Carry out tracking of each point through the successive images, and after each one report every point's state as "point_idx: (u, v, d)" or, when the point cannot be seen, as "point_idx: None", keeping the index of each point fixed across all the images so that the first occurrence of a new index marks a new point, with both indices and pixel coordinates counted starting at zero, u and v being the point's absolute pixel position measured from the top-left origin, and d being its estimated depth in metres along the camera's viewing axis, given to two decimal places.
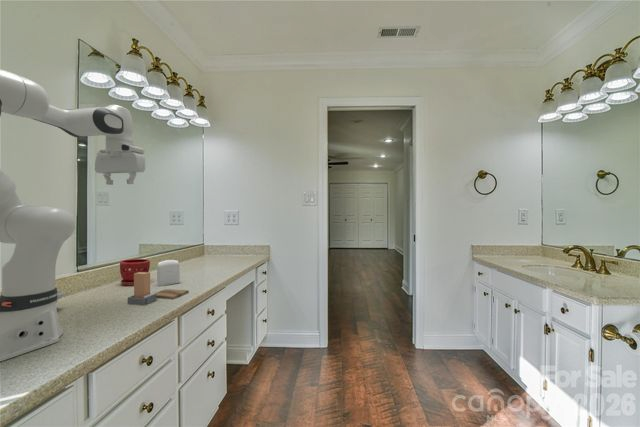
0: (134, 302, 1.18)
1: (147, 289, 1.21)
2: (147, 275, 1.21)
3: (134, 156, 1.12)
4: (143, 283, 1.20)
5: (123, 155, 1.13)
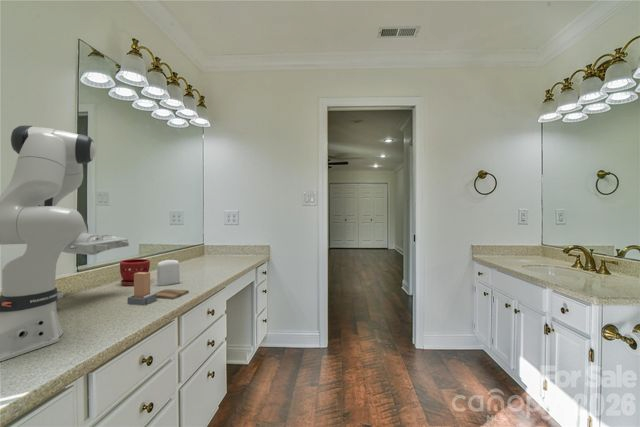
0: (134, 302, 1.18)
1: (147, 289, 1.21)
2: (147, 275, 1.21)
3: None
4: (143, 283, 1.20)
5: (105, 238, 1.30)
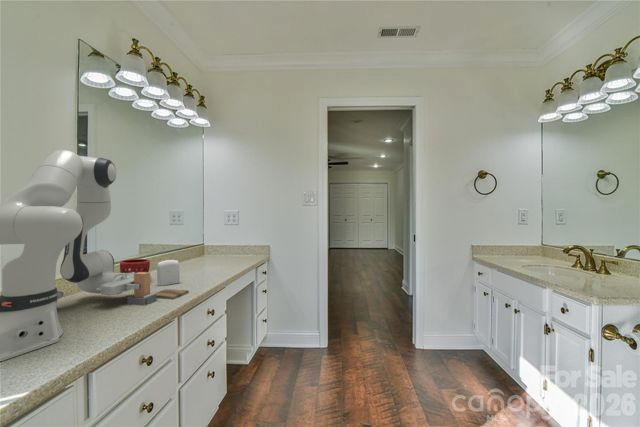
0: (134, 302, 1.18)
1: (147, 289, 1.21)
2: (146, 275, 1.21)
3: None
4: (143, 283, 1.20)
5: (129, 276, 1.27)
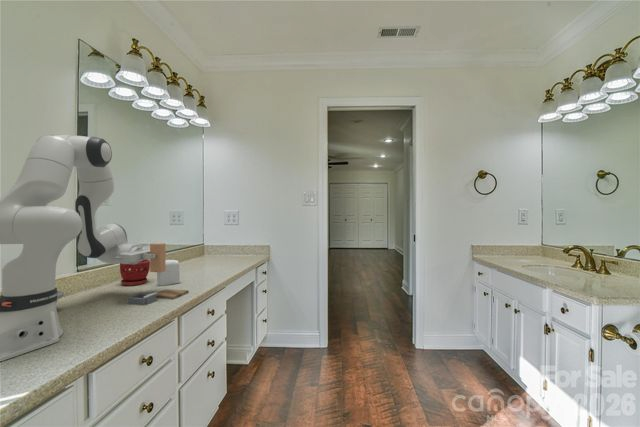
0: (134, 302, 1.18)
1: (162, 259, 1.27)
2: (162, 246, 1.27)
3: None
4: (159, 253, 1.26)
5: (145, 248, 1.33)
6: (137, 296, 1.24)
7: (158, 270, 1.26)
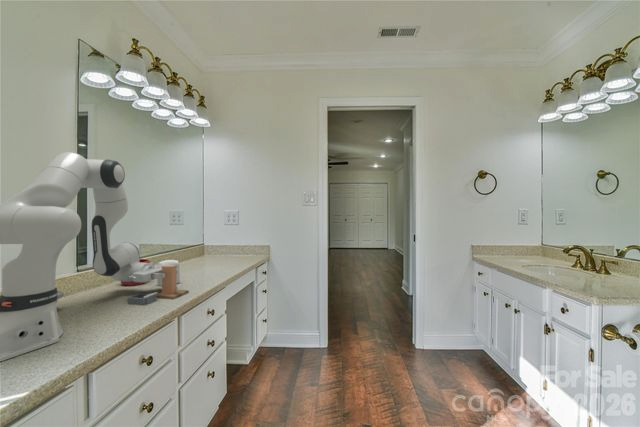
0: (134, 302, 1.18)
1: (174, 281, 1.31)
2: (173, 268, 1.31)
3: (165, 264, 1.42)
4: (170, 275, 1.30)
5: (156, 266, 1.37)
6: (137, 296, 1.24)
7: (169, 292, 1.30)
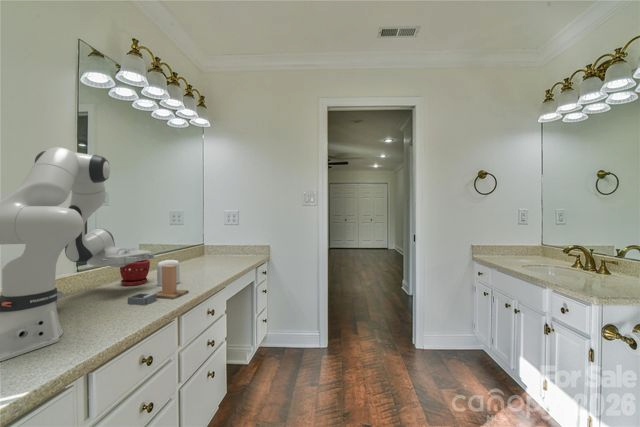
0: (134, 302, 1.18)
1: (174, 281, 1.31)
2: (173, 268, 1.31)
3: (141, 250, 1.44)
4: (170, 275, 1.30)
5: (132, 251, 1.39)
6: (137, 296, 1.24)
7: (169, 292, 1.30)
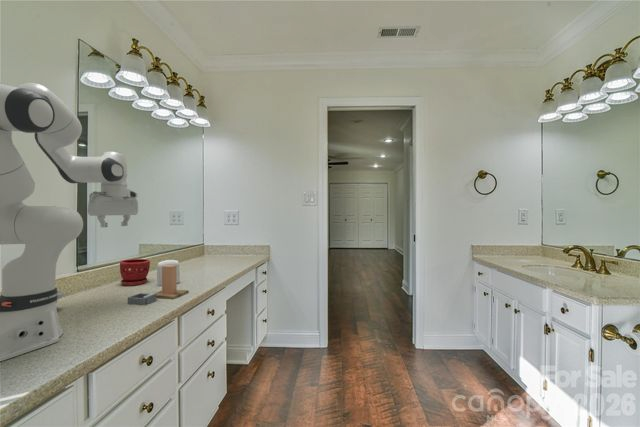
0: (134, 302, 1.18)
1: (174, 281, 1.31)
2: (173, 268, 1.31)
3: (137, 202, 1.28)
4: (170, 275, 1.30)
5: (126, 200, 1.23)
6: (137, 296, 1.24)
7: (169, 292, 1.30)
